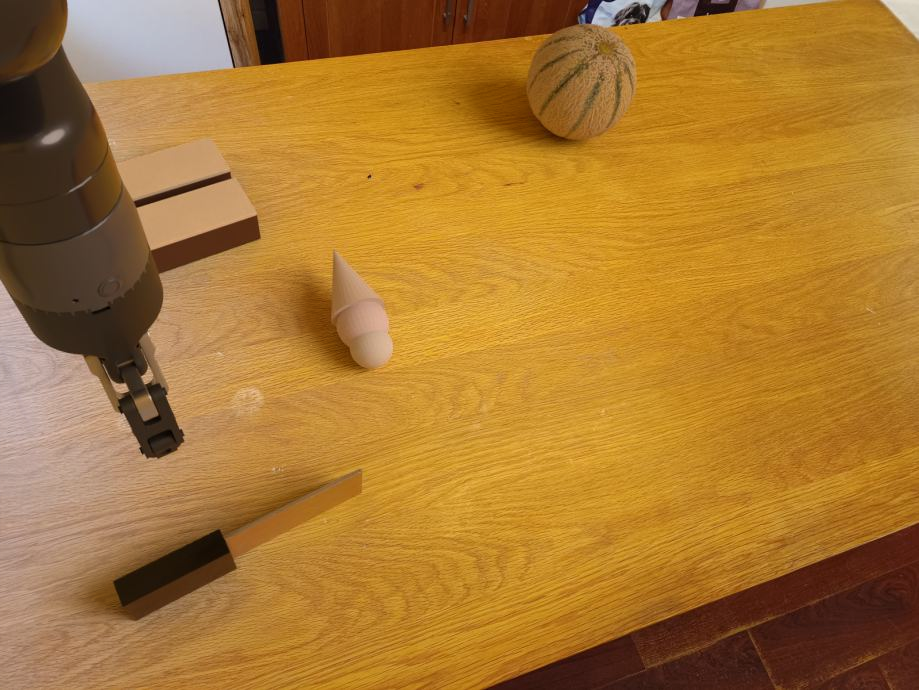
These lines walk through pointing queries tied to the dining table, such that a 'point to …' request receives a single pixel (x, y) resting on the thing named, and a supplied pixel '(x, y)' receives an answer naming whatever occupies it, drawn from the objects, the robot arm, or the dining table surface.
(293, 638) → the dining table surface
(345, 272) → the ice cream cone
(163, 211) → the slotted tan block
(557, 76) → the cantaloupe
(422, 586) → the dining table surface
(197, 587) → the knife
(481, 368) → the dining table surface
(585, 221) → the dining table surface
